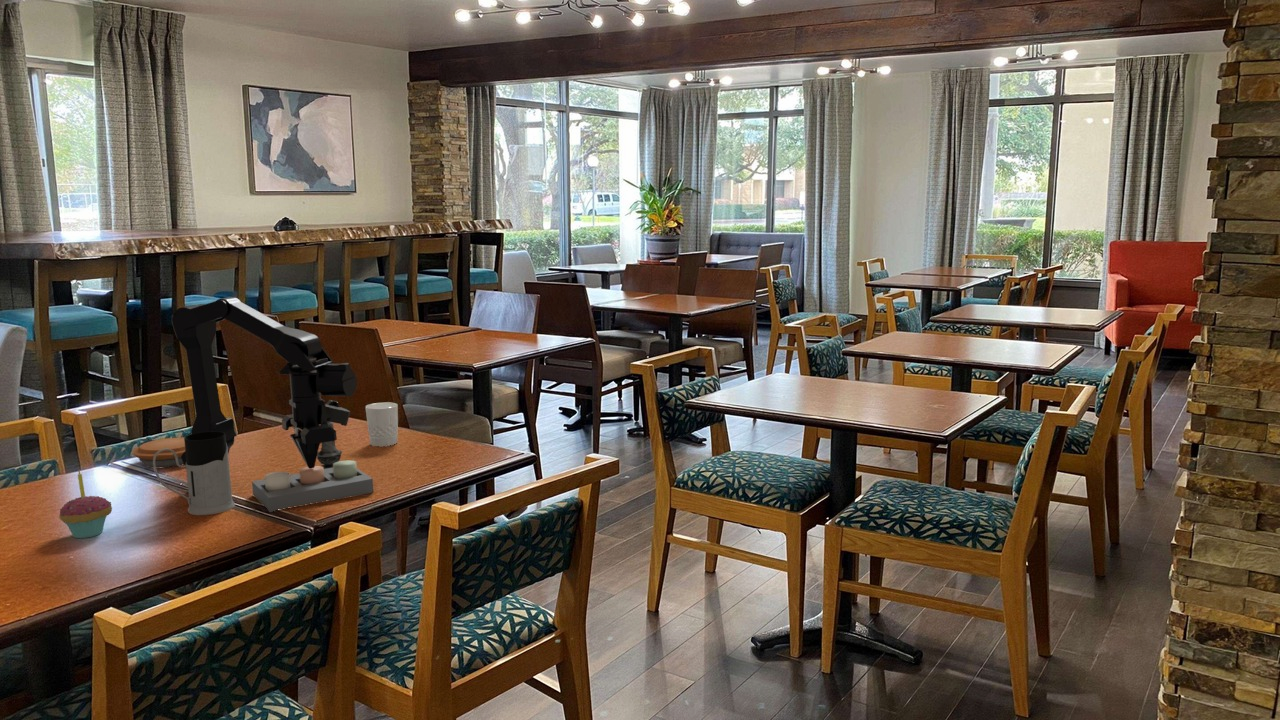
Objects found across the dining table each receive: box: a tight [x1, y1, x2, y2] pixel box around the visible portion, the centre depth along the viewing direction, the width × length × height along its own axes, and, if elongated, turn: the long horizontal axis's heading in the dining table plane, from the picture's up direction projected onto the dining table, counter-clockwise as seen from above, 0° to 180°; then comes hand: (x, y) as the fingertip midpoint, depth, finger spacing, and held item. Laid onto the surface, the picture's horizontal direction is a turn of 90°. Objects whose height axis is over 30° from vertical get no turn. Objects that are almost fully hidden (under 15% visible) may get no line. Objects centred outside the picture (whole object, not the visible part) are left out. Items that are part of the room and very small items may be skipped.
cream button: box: [264, 471, 291, 492], centre depth 191 cm, size 5×5×3 cm
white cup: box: [365, 401, 399, 448], centre depth 236 cm, size 8×8×10 cm
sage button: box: [333, 460, 358, 480], centre depth 199 cm, size 5×5×3 cm
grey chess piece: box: [316, 421, 343, 469], centre depth 214 cm, size 6×6×12 cm
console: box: [251, 468, 374, 513], centre depth 195 cm, size 21×14×3 cm, turn 125°
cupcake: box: [58, 469, 113, 539], centre depth 172 cm, size 9×8×12 cm
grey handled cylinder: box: [153, 431, 236, 516], centre depth 184 cm, size 9×14×15 cm, turn 132°
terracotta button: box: [299, 465, 325, 486], centre depth 195 cm, size 5×5×3 cm
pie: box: [132, 436, 185, 468], centre depth 222 cm, size 15×16×5 cm
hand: (311, 467), depth 194 cm, fingers closed
